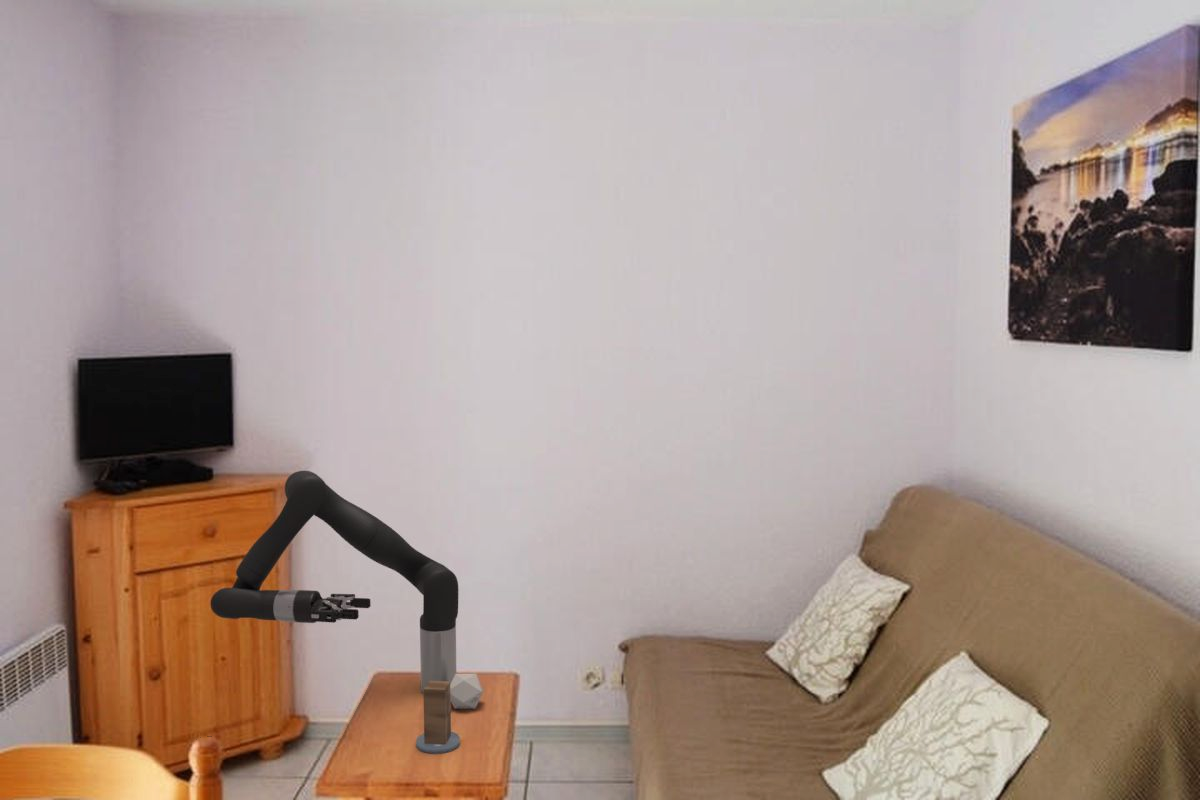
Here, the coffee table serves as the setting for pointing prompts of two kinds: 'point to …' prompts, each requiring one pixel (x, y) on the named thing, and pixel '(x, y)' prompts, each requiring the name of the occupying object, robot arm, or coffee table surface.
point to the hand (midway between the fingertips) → (364, 608)
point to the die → (465, 691)
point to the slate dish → (438, 745)
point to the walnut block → (437, 712)
